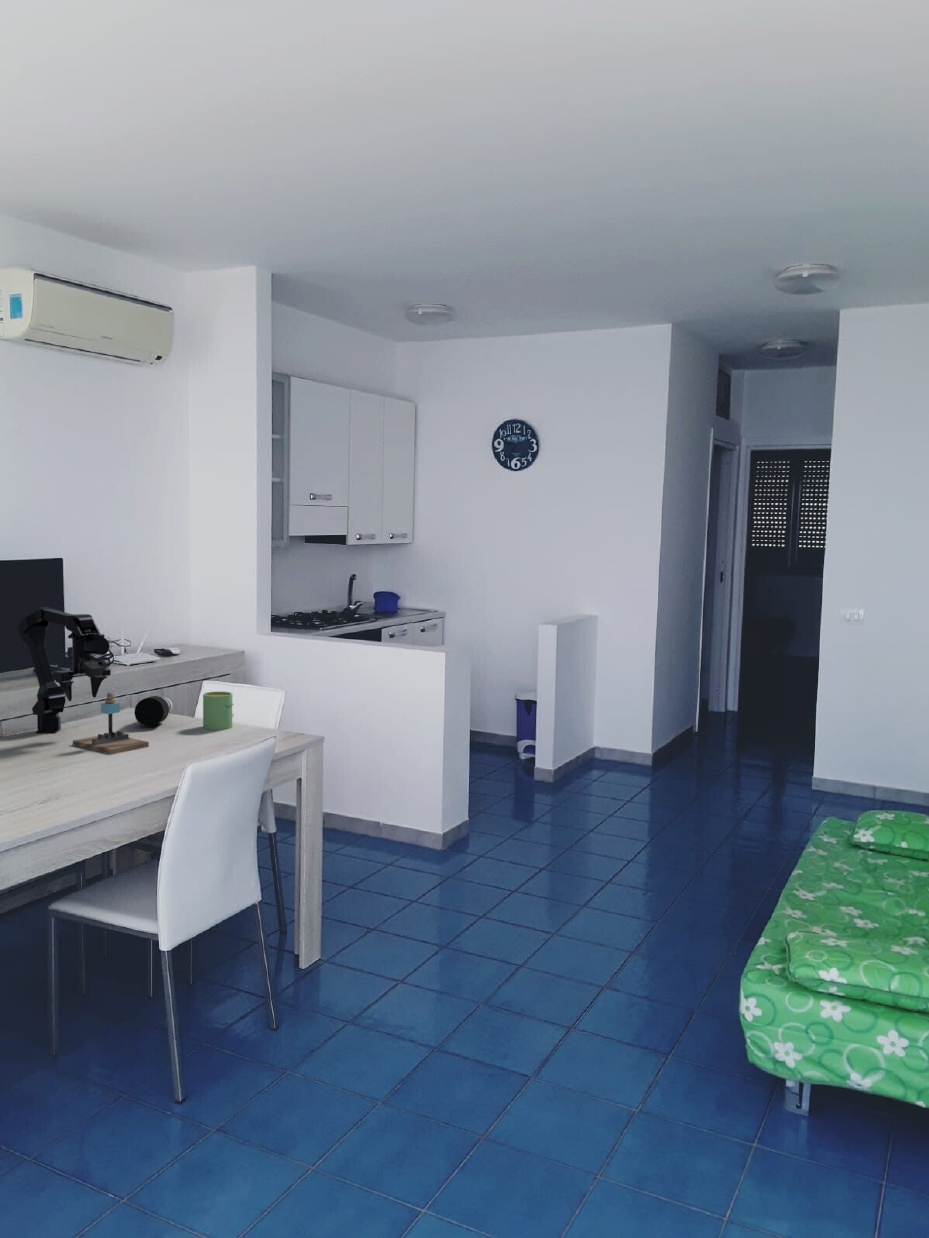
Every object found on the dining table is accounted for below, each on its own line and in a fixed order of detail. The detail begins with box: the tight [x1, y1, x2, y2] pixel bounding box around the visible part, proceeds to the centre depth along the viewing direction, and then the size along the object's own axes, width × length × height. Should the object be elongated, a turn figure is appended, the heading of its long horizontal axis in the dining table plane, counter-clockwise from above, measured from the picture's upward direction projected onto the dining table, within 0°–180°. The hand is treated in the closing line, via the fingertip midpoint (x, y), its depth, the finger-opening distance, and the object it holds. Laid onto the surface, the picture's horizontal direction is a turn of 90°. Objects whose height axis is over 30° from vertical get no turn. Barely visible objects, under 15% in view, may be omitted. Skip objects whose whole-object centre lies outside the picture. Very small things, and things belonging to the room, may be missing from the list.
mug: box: [202, 690, 234, 731], centre depth 354 cm, size 13×10×12 cm
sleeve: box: [100, 701, 121, 715], centre depth 320 cm, size 4×4×3 cm
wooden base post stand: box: [72, 692, 150, 755], centre depth 320 cm, size 20×14×17 cm
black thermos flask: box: [133, 695, 173, 727], centre depth 365 cm, size 10×34×10 cm, turn 6°
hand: (82, 699), depth 330 cm, fingers open, 9 cm apart
